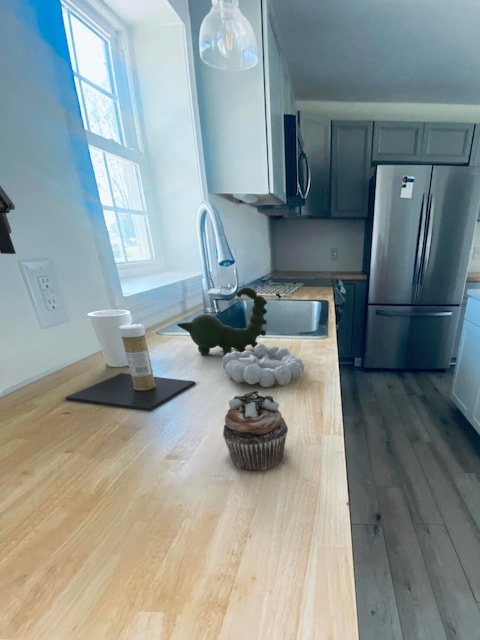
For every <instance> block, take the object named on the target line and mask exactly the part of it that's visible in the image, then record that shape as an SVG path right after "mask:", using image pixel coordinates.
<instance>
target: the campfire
mask: <svg viewBox="0 0 480 640" xmlns="http://www.w3.org/2000/svg"><path fill="white" fill-rule="evenodd" d="M252 350H253V351H251V350H247V349H245V351H244V352H240V351H239V350H238V351H237V350H235V351H234V350H233V351H232V350H231V351H230V352H228V353H226V354H224V355H223V357H222V358H221V367H222V370H224V371H225V374H227V375H228V376H229V377H230V378H232V380H234V381H235V382H237V383H238V384H239V383H243V382H246V383H247V384H249V385H255V384H257V383H259V384H260V386H262V387H263V388H270V387H272V386H273V385H274V384H275V383H276V382H277V384H279V385H280V386H287V385H288V384H289V383H290V381H291V380H294V381H295V380H297V379H300V378H301V376H302V374H303V373H304V371H305V366H306V364H305V361H304V360H302V359H301V358H298V357H297V356H295V355H293V354H292V352H291V350H290V349H289V348H287V347H285V348H284V347H283V348H280V347H279V346H276V345H273V346H269V347H268V346H267V345H266V344H264V343H258V345H256V346H255V348H254V347H253V349H252Z"/></svg>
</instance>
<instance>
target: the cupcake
mask: <svg viewBox="0 0 480 640" xmlns="http://www.w3.org/2000/svg"><path fill="white" fill-rule="evenodd" d="M228 406H229V409H228V410H227V413H226V414H225V416H224V423H225V424H224V425H223V431H222V438H223V440H224V442H225V444H226V447H227V450H228V452H229V456H230V459H231V461H232V463H233V464H234V466H235V467H237V468H239V470H240V469H241V470H243V471H247V472H260V471H265V470H268V469H273V468H274V467H276V466H278V465H279V463H281V462H282V461H283V457H284V452H285V444H286V440H287V436H288V431H289V429H288V428H289V426H288V425H287V423H286V420H285V418H284V417H283V415H282V413H281V411H280V409H279V407H280V402H279V401H277V400H274V397H273V396H270V395H265V396H264V395H263V394H262V393H260V392H259V390H253V391H250V392H247V393H245V394H243V395H235V396H234V397H233V399H232V398H231V399H229V400H228Z"/></svg>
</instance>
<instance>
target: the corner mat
mask: <svg viewBox="0 0 480 640" xmlns="http://www.w3.org/2000/svg"><path fill="white" fill-rule="evenodd" d="M153 377H154V381H155V384H156V387H155V388H153V389H151V390H147V391H138V390H135V389H134V384H133V380H132V376H131V374H130V373H124V372H121V373H119V374H116V375H114V376H112V377H109V378H106V379H104V380H102V381H99V382H97V383H95V384H93V385H90V386H88V387H85V388H83V389H81V390H78V391H76V392H74V393H72V394H69V395H67V396H65V400H68V401H74V402H82V403H89V404H95V405H96V404H97V405H103V406H111V407H117V408H125V409H131V410H141V411H148V412H151V411H152V410H154V409H156V408H158V407H159V406H160V405H162V404H164V403H165V402H166V403H167V401H169V400H171V399H172V398H175V397H176V396H177V395H179V394H180V393H182V392H184V391H186V390H187V389H189V388H191V387H192V386H194V385H196V381H194V380H187V379H186V380H185V379H176V378H169V377H159V376H153Z"/></svg>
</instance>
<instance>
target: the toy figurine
mask: <svg viewBox="0 0 480 640" xmlns="http://www.w3.org/2000/svg"><path fill="white" fill-rule="evenodd" d="M243 295H244V296H246V297H248V298H249V299H251V300H252V303H253V305H252V307H251V314H250V317H249V323H247V325H246V327H243V328H239V327H237V328H233V326H231V325H228V324H223V323H222V321H221V320H220V319H219V318H218V317H216V316H214V315H212V314H208V313H202V314H199V315H196V316H195V317H194V318H193V319H192V320H191V321H189V322H180V323H177V324H176V325H177V327H179V328H180V329H182V330H184V331H186V332H187V333H189V336H190V338H191V340H192V341H193V343H194V344H195V345H196V346H197V350H198V352H199V353H200V354H201V355H204V356H205V355H208V354H209V353H210V351H211V349H214V348H216V347H219V348H221V349H222V351H223V352H224V353H226V354H227V353H231V352H232V349H234V350H238V352H240V353H241V352H244V351H245V350H246V348H247V347H248V346H251V347H252V348H253V349H254V348H255V346H256V345H258V344H259V342H258V341H257V339H258V337H260V336H262V337H265V336H266V335H267V331H266V330H265V329H263V326H264V325H267V323H268V321H267V319H265V318H264V316H265V315H266V314H267V313H268V310H267V309H266V307H265V305H267V304H268V301H267V300H266V299H265V298H264V297H263V296H262V295H258V294H257V292H256V290H255V289H254V288H251V287H242V288H241V289H239V290H238V291H237V292H236V297H237V298H239V297H240V296H243Z"/></svg>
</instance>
